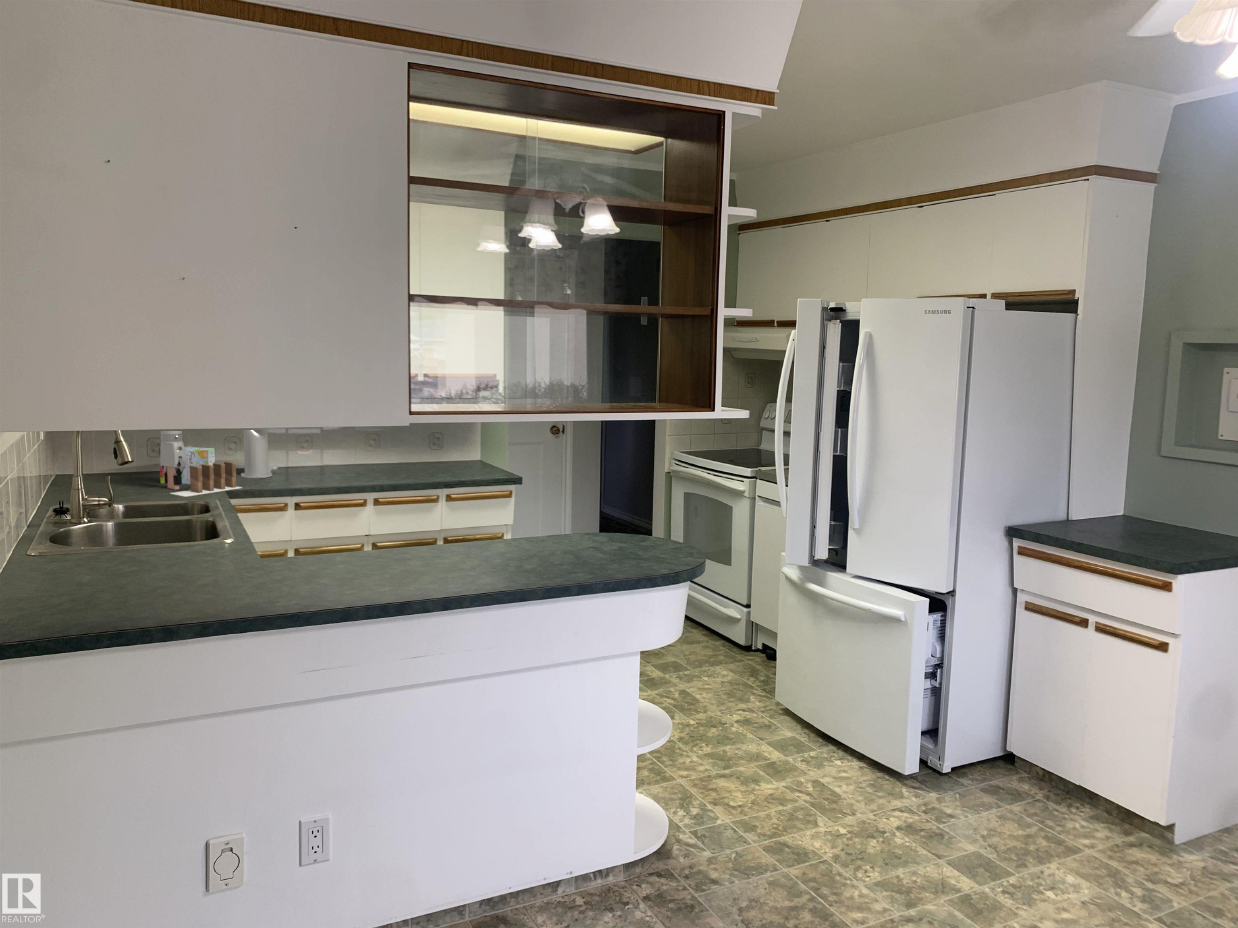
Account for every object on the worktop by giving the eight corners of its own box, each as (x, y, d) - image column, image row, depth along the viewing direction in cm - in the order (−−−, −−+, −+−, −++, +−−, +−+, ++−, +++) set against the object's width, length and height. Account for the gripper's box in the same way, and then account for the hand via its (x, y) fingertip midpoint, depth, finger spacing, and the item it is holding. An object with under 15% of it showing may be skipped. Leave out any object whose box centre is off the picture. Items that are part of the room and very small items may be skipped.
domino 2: (194, 490, 345) (193, 465, 343) (202, 492, 342) (201, 467, 341) (190, 491, 344) (189, 466, 342) (198, 493, 341) (197, 467, 340)
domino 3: (206, 489, 349) (205, 464, 348) (214, 490, 347) (213, 465, 345) (202, 489, 348) (201, 464, 346) (210, 491, 345) (209, 466, 344)
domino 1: (171, 488, 350) (170, 463, 349) (179, 490, 348) (178, 465, 347) (167, 489, 349) (166, 464, 348) (175, 490, 347) (174, 465, 345)
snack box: (216, 484, 363) (215, 447, 361) (208, 486, 358) (207, 449, 355) (167, 481, 365) (166, 445, 363) (159, 483, 360) (157, 447, 357)
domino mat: (226, 485, 360) (226, 484, 360) (243, 488, 355) (242, 487, 355) (169, 494, 339) (169, 493, 339) (185, 497, 334) (185, 496, 334)
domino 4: (217, 487, 353) (216, 462, 352) (225, 488, 351) (224, 464, 350) (213, 487, 352) (212, 463, 351) (221, 489, 350) (220, 464, 348)
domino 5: (228, 485, 358) (227, 461, 356) (236, 487, 355) (235, 462, 354) (224, 486, 356) (224, 461, 355) (232, 487, 354) (232, 463, 352)
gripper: (193, 439, 345) (195, 485, 347) (167, 435, 353) (169, 480, 356) (176, 441, 338) (177, 487, 341) (149, 436, 346) (151, 482, 349)
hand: (173, 483), depth 348 cm, fingers closed on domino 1, 4 cm apart
